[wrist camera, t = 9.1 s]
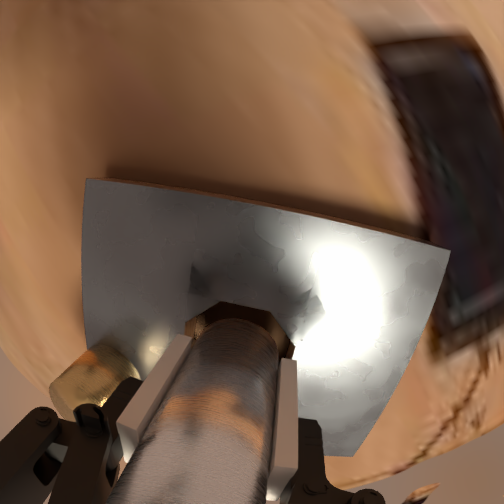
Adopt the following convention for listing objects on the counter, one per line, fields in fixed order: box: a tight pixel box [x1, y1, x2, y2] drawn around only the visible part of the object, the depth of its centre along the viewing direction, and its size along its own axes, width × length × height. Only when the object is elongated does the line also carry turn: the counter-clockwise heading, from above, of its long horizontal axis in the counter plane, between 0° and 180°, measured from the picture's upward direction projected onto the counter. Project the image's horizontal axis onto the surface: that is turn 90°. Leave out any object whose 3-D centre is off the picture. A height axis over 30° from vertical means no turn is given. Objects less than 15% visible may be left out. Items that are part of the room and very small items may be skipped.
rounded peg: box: [105, 318, 279, 504], centre depth 10 cm, size 5×5×11 cm
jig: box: [49, 178, 451, 457], centre depth 14 cm, size 20×16×7 cm
